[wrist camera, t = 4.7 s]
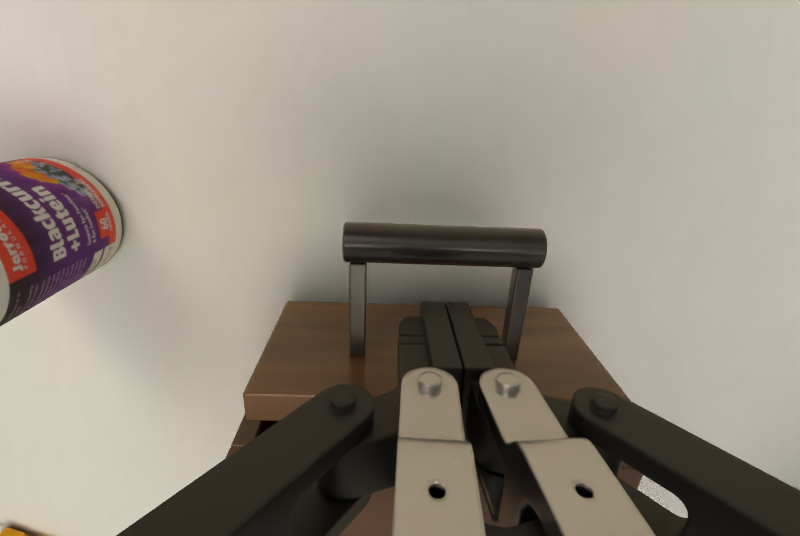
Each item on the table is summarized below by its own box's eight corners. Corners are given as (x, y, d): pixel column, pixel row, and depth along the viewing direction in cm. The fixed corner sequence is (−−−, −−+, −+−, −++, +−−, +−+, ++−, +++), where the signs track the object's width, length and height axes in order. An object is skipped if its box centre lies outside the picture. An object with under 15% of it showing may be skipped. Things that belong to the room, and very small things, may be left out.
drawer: (279, 192, 18) (222, 244, 12) (581, 203, 19) (678, 259, 12) (299, 485, 25) (269, 617, 19) (519, 487, 26) (561, 615, 19)
